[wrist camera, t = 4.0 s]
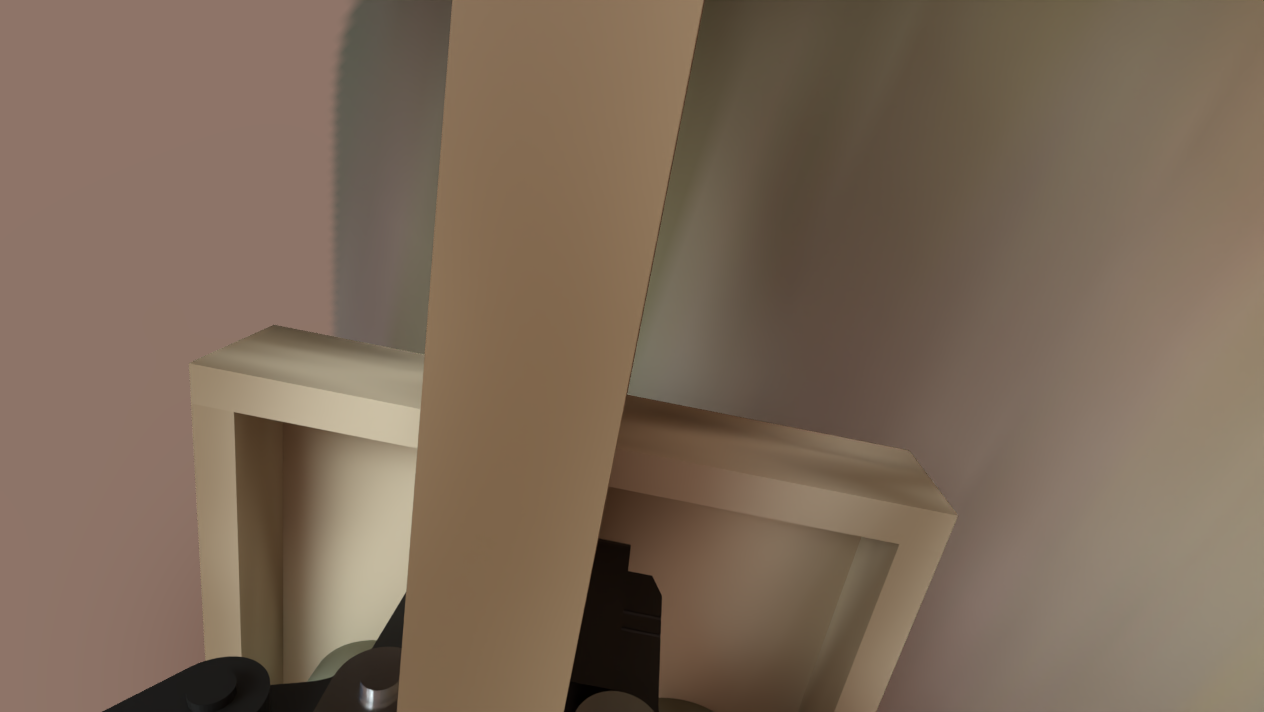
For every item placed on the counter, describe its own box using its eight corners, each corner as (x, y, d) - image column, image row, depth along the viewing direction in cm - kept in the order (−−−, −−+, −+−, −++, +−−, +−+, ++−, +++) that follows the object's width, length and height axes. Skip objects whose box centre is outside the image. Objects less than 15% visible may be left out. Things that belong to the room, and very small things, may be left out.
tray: (1137, -162, 10) (2626, -1144, 2) (767, 828, 17) (837, 1351, 10) (268, -329, 10) (-1022, -1817, 2) (277, 729, 18) (-27, 1173, 10)
